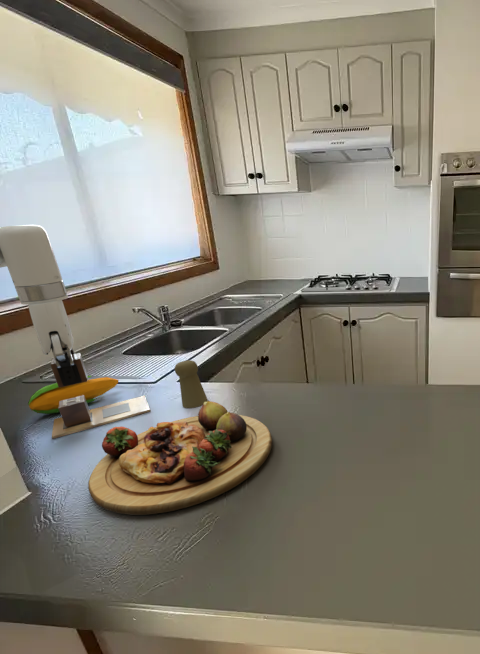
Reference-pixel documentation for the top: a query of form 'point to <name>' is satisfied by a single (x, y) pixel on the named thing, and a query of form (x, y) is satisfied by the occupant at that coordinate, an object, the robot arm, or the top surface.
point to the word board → (104, 416)
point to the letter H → (74, 411)
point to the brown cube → (80, 365)
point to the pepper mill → (190, 384)
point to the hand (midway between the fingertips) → (72, 378)
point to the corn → (68, 394)
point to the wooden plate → (178, 461)
